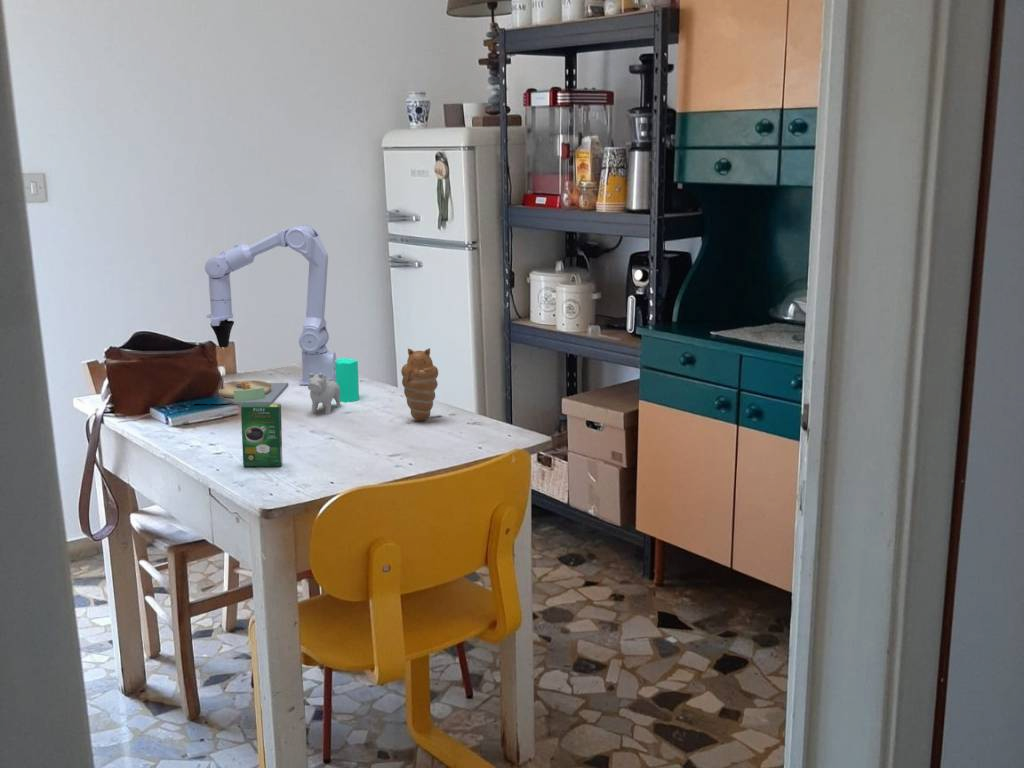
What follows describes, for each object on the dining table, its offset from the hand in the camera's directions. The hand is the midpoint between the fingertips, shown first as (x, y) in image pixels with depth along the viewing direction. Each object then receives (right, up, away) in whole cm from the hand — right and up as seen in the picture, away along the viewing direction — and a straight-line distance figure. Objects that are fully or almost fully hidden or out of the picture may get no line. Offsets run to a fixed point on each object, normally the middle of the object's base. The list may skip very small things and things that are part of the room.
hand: (223, 347), depth 279 cm
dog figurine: (+35, -18, -30) cm, 49 cm away
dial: (+9, -12, -15) cm, 21 cm away
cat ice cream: (+60, -20, -40) cm, 74 cm away
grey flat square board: (+9, -13, -14) cm, 22 cm away
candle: (+38, -15, -19) cm, 45 cm away
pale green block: (+13, -14, -22) cm, 30 cm away
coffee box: (+30, -28, -74) cm, 85 cm away
